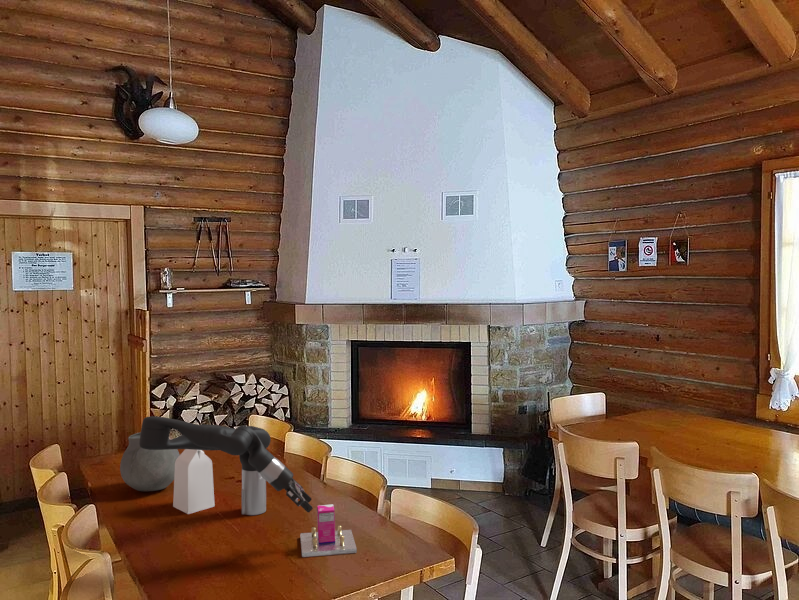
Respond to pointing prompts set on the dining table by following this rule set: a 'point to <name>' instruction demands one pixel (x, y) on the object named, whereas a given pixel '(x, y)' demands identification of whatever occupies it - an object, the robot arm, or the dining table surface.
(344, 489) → the dining table surface
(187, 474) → the milk
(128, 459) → the ceramic pot
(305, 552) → the chassis plate
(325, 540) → the supplement box
